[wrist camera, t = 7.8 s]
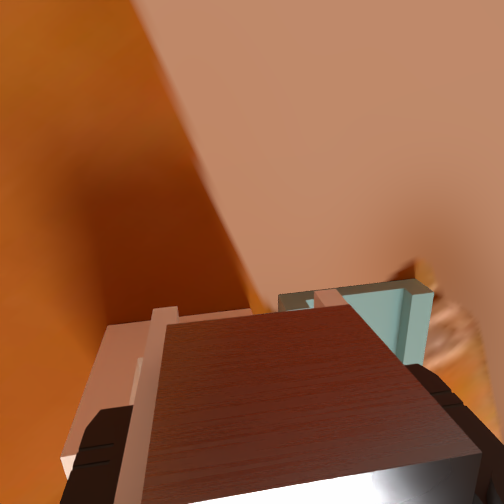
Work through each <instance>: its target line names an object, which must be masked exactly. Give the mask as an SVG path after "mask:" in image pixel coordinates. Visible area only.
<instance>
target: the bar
mask: <svg viewBox="0 0 504 504" xmlns="http://www.w3.org/2000/svg"><path fill="white" fill-rule="evenodd" d="M481 458H482V452H481V450H480V449H479V448H478V447H477V446H476V445H475V444H474V443H473V441H472V440H471V439H470V438H469V437H468V436H467V435H466V434H465V433H464V431H463V430H462V429H461V428H460V427H459V426H458V425H457V424H456V422H455V421H454V420H453V419H452V418H451V417H450V416H449V415H448V414H447V412H446V411H445V410H444V409H443V408H442V407H441V406H440V405H439V403H438V402H437V401H436V400H435V399H434V398H433V397H432V396H431V395H430V393H429V392H428V391H427V390H426V389H425V388H424V387H423V386H422V384H421V383H420V382H419V381H418V380H417V379H416V378H415V377H414V376H413V374H412V373H411V372H410V371H409V370H408V369H407V368H406V367H405V365H404V364H403V363H402V362H401V361H400V360H399V359H398V358H397V357H396V355H395V354H394V353H393V352H392V351H391V350H390V349H389V348H388V346H387V345H386V344H385V343H384V342H383V341H382V340H381V339H380V338H379V336H378V335H377V334H376V333H375V332H374V331H373V330H372V329H371V327H370V326H369V325H368V324H367V323H366V322H365V321H364V320H363V318H362V317H361V316H360V315H359V314H358V313H357V312H356V311H355V310H354V308H353V307H352V306H351V305H350V304H346V305H337V306H329V307H320V308H311V309H302V310H293V311H284V312H275V313H266V314H257V315H249V316H240V317H231V318H222V319H213V320H204V321H195V322H186V323H177V324H168V325H167V326H166V333H165V340H164V347H163V354H162V361H161V368H160V375H159V382H158V389H157V396H156V402H155V409H154V416H153V423H152V430H151V437H150V444H149V451H148V458H147V465H146V472H145V479H144V486H143V493H142V500H141V504H472V502H473V497H474V492H475V487H476V482H477V477H478V472H479V467H480V463H481Z"/></svg>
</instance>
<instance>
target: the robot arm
mask: <svg viewBox="0 0 504 504" xmlns="http://www.w3.org/2000/svg"><path fill="white" fill-rule="evenodd" d="M346 304H348V303H347V302H346V300H345V299H344V298H343V297H342V296H341V294H340V293H339V292H338V291H337V290H336V289H328V290H319V291H314V308H320V307H329V306H337V305H346ZM177 323H180V322H179V314H178V307H177V306H173V307H164V308H155V309H153V312H152V317H151V322H150V327H149V332H148V337H147V342H146V347H145V351H144V356H143V361H142V366H141V371H140V376H139V381H138V386H137V391H136V396H135V401H134V405H129V406H122V407H115V408H108V409H101V410H100V411H99V412H98V413H97V414H96V416H95V417H94V418H93V419H92V421H91V422H90V423H89V424H88V426H87V427H86V428H85V431H84V434H83V437H82V440H81V443H80V446H79V452H77V454H76V457H75V460H74V463H73V469H72V470H71V472H70V475H69V478H68V481H67V484H66V486H65V489H64V492H63V495H62V498H61V501H60V504H141V500H142V493H143V486H144V479H145V472H146V465H147V458H148V451H149V444H150V437H151V430H152V423H153V416H154V409H155V402H156V396H157V389H158V382H159V375H160V368H161V361H162V354H163V347H164V340H165V333H166V326H167V325H168V324H177ZM405 367H406V368H407V369H408V370H409V371H410V372H411V373H412V374H413V376H414V377H415V378H416V379H417V380H418V381H419V382H420V383H421V384H422V386H423V387H424V388H425V389H426V390H427V391H428V392H429V393H430V395H431V396H432V397H433V398H434V399H435V400H436V401H437V402H438V403H439V405H440V406H441V407H442V408H443V409H444V410H445V411H446V412H447V414H448V415H449V416H450V417H451V418H452V419H453V420H454V421H455V422H456V424H457V425H458V426H459V427H460V428H461V429H462V430H463V431H464V433H465V434H466V435H467V436H468V437H469V438H470V439H471V440H472V441H473V443H474V444H475V445H476V446H477V447H478V448H479V449H480V450H481V452H482V458H481V463H480V467H479V472H478V477H477V482H476V487H475V492H474V497H473V502H472V504H504V445H503V444H502V443H501V442H500V441H499V440H498V439H497V438H496V436H495V435H494V434H493V433H492V432H491V431H490V430H489V429H488V428H487V427H486V426H485V425H484V424H483V423H482V422H481V421H480V420H479V419H478V418H477V416H476V415H475V414H474V413H473V412H472V411H471V410H470V409H469V408H468V407H467V406H464V405H463V402H462V401H461V400H460V399H459V398H458V397H457V395H456V394H455V393H452V392H451V389H450V388H449V387H448V386H447V385H446V384H445V383H444V382H443V381H442V380H441V379H440V378H439V377H438V376H437V375H436V374H435V373H433V372H431V371H430V370H428V369H426V368H425V367H423V366H421V365H420V364H418V363H417V364H410V365H405Z"/></svg>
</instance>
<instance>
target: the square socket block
mask: <svg viewBox="0 0 504 504" xmlns="http://www.w3.org/2000/svg"><path fill="white" fill-rule="evenodd" d="M249 315H253V314H252V311H251V308H248V309H239V310H231V311H223V312H215V313H207V314H198V315H190V316H182V317H179V322H180V323H186V322H195V321H204V320H213V319H222V318H231V317H240V316H249ZM150 322H151V320H149V321H141V322H133V323H125V324H117V325H109V326H107V328H106V331H105V334H104V337H103V340H102V342H101V345H100V348H99V351H98V353H97V356H96V359H95V362H94V365H93V367H92V370H91V373H90V376H89V379H88V381H87V384H86V387H85V390H84V393H83V395H82V398H81V401H80V404H79V406H78V409H77V412H76V415H75V418H74V420H73V423H72V426H71V429H70V432H69V434H68V437H67V440H66V443H65V446H64V448H63V451H62V454H61V457H60V458H61V461H62V464H63V468H64V471H65V474H66V477H67V480H68V478H69V475H70V472H71V470H72V469H73V463H74V460H75V457H76V454H77V452H79V446H80V443H81V440H82V437H83V434H84V431H85V428H86V427H87V426H88V424H89V423H90V422H91V421H92V419H93V418H94V417H95V416H96V414H97V413H98V412H99V411H100V410H101V409H108V408H115V407H122V406H129V405H134V401H135V396H136V391H137V386H138V381H139V376H140V371H141V366H142V361H143V356H144V351H145V347H146V342H147V337H148V332H149V327H150Z"/></svg>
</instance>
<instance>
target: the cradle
mask: <svg viewBox="0 0 504 504" xmlns="http://www.w3.org/2000/svg"><path fill="white" fill-rule="evenodd" d="M332 289H336V290H337V291H338V292H339V293H340V294H341V296H342V297H343V298H344V299H345V300H346V302H347V303H348V304H350V305H351V306H352V307H353V308H354V310H355V311H356V312H357V313H358V314H359V315H360V316H361V317H362V318H363V320H364V321H365V322H366V323H367V324H368V325H369V326H370V327H371V329H372V330H373V331H374V332H375V333H376V334H377V335H378V336H379V338H380V339H381V340H382V341H383V342H384V343H385V344H386V345H387V346H388V348H389V349H390V350H391V351H392V352H393V353H394V354H395V355H396V357H397V358H398V359H399V360H400V361H401V362H402V363H403V364H404V365H410V364H417V363H418V364H420V365H421V366H422V365H423V359H424V352H425V346H426V340H427V334H428V327H429V321H430V315H431V309H432V303H433V296H434V292H433V291H432V290H430V289H429V288H428V287H426V286H425V285H423V284H422V283H421V282H419V281H418V280H417V279H407V280H398V281H390V282H381V283H374V284H365V285H356V286H348V287H339V288H332ZM323 290H328V289H323ZM314 291H319V290H314ZM314 291H305V292H297V293H288V294H280V295H278V312H284V311H293V310H302V309H311V308H314Z"/></svg>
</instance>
